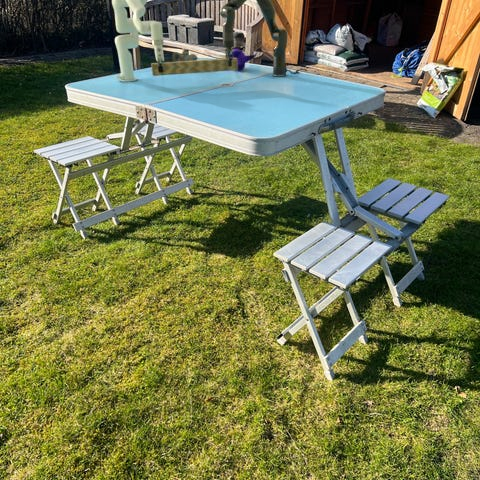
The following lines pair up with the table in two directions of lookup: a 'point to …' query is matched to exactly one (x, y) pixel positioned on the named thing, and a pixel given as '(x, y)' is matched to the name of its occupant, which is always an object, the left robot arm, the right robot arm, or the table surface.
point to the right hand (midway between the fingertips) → (229, 65)
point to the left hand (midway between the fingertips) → (160, 71)
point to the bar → (194, 66)
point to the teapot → (184, 56)
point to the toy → (241, 58)
